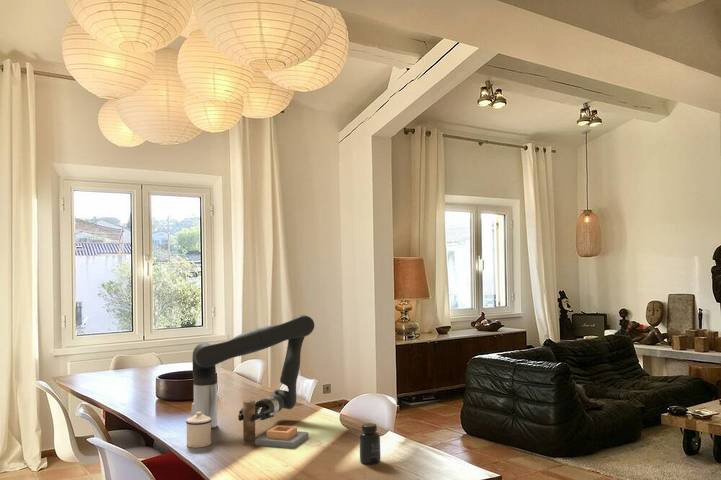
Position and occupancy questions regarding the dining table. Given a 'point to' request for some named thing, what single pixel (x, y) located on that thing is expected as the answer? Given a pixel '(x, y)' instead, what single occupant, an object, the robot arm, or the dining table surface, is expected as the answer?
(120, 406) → the dining table surface
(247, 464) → the dining table surface
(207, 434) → the teacup with lid
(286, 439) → the collar base
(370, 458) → the supplement bottle
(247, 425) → the walnut peg
